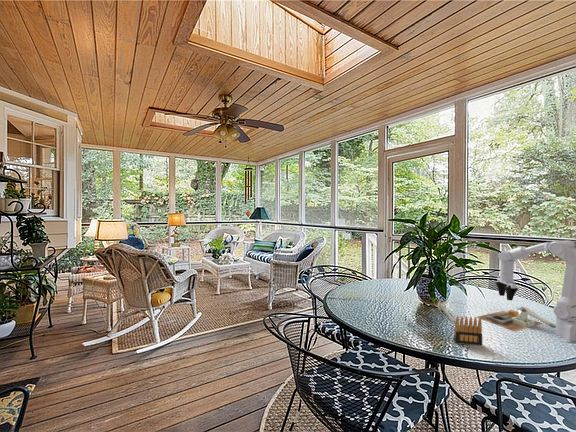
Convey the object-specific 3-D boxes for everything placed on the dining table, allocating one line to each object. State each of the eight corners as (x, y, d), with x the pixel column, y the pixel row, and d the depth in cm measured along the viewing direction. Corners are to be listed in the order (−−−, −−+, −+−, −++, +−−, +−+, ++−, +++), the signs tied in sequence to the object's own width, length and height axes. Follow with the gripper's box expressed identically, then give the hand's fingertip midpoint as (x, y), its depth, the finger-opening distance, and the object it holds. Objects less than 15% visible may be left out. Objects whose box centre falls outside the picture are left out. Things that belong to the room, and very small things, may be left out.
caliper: (437, 309, 166) (438, 298, 166) (439, 309, 166) (440, 298, 166) (454, 324, 146) (454, 312, 146) (456, 324, 146) (456, 312, 146)
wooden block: (517, 317, 151) (518, 311, 150) (505, 320, 146) (505, 314, 146) (511, 315, 153) (511, 309, 153) (499, 318, 149) (499, 312, 149)
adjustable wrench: (557, 328, 142) (557, 325, 142) (542, 327, 143) (542, 324, 143) (526, 309, 166) (526, 306, 166) (513, 308, 167) (513, 305, 167)
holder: (542, 325, 144) (543, 320, 144) (514, 333, 135) (514, 328, 135) (503, 312, 161) (503, 307, 161) (475, 318, 152) (475, 314, 152)
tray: (535, 325, 142) (535, 321, 142) (526, 327, 139) (526, 323, 139) (519, 319, 148) (519, 315, 148) (510, 321, 146) (511, 318, 146)
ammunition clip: (480, 343, 126) (481, 316, 125) (482, 345, 124) (483, 318, 123) (453, 340, 128) (454, 314, 127) (455, 342, 126) (455, 316, 126)
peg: (528, 324, 142) (528, 311, 141) (518, 323, 143) (519, 309, 143) (526, 322, 145) (526, 308, 144) (517, 320, 146) (517, 307, 146)
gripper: (523, 276, 147) (522, 302, 148) (507, 270, 162) (506, 294, 162) (507, 276, 149) (506, 301, 149) (493, 269, 163) (492, 293, 163)
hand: (505, 297), depth 156 cm, fingers open, 7 cm apart
